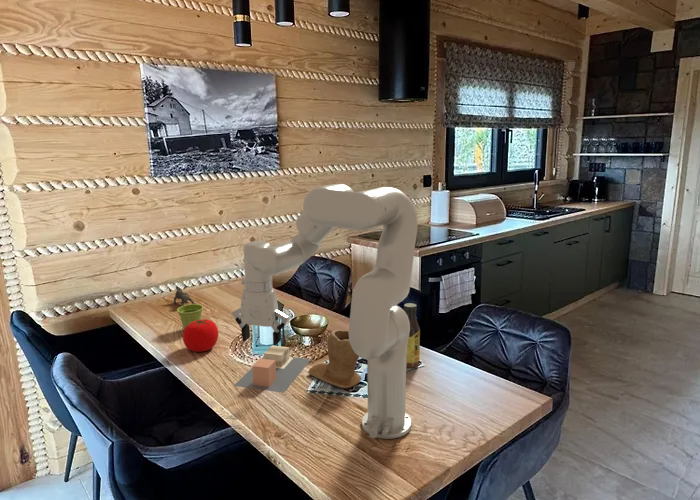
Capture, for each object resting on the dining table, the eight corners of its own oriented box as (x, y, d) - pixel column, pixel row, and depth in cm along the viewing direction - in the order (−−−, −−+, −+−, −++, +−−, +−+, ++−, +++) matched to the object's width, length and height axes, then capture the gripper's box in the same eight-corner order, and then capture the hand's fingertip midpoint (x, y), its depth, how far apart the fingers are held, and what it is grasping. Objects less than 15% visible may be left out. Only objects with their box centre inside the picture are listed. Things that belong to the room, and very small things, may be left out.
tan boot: (370, 379, 149) (370, 333, 146) (343, 395, 141) (342, 346, 137) (334, 364, 159) (333, 320, 156) (307, 378, 151) (305, 332, 147)
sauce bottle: (418, 369, 155) (419, 309, 150) (398, 368, 156) (399, 308, 152) (420, 360, 161) (421, 302, 157) (400, 358, 162) (401, 301, 158)
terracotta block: (269, 386, 144) (268, 367, 142) (253, 384, 145) (252, 365, 144) (276, 378, 148) (275, 360, 147) (261, 376, 150) (260, 358, 148)
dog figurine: (171, 303, 220) (169, 287, 218) (184, 300, 224) (182, 284, 222) (183, 309, 211) (181, 293, 210) (195, 306, 215) (194, 290, 213)
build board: (284, 396, 141) (284, 392, 140) (233, 388, 145) (233, 385, 145) (311, 362, 161) (311, 359, 161) (266, 356, 166) (266, 353, 165)
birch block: (282, 366, 156) (281, 355, 155) (264, 364, 158) (263, 353, 157) (289, 358, 161) (289, 347, 161) (272, 356, 163) (272, 345, 162)
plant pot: (206, 332, 187) (204, 310, 185) (180, 336, 184) (177, 314, 182) (203, 323, 196) (201, 302, 194) (178, 327, 192) (176, 306, 190)
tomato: (192, 359, 165) (189, 329, 162) (179, 348, 173) (176, 320, 171) (225, 349, 172) (223, 320, 170) (211, 338, 181) (209, 311, 178)
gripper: (224, 286, 139) (228, 342, 143) (281, 292, 134) (283, 350, 138) (237, 278, 146) (240, 332, 150) (292, 284, 141) (294, 339, 145)
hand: (261, 341), depth 144 cm, fingers open, 9 cm apart
